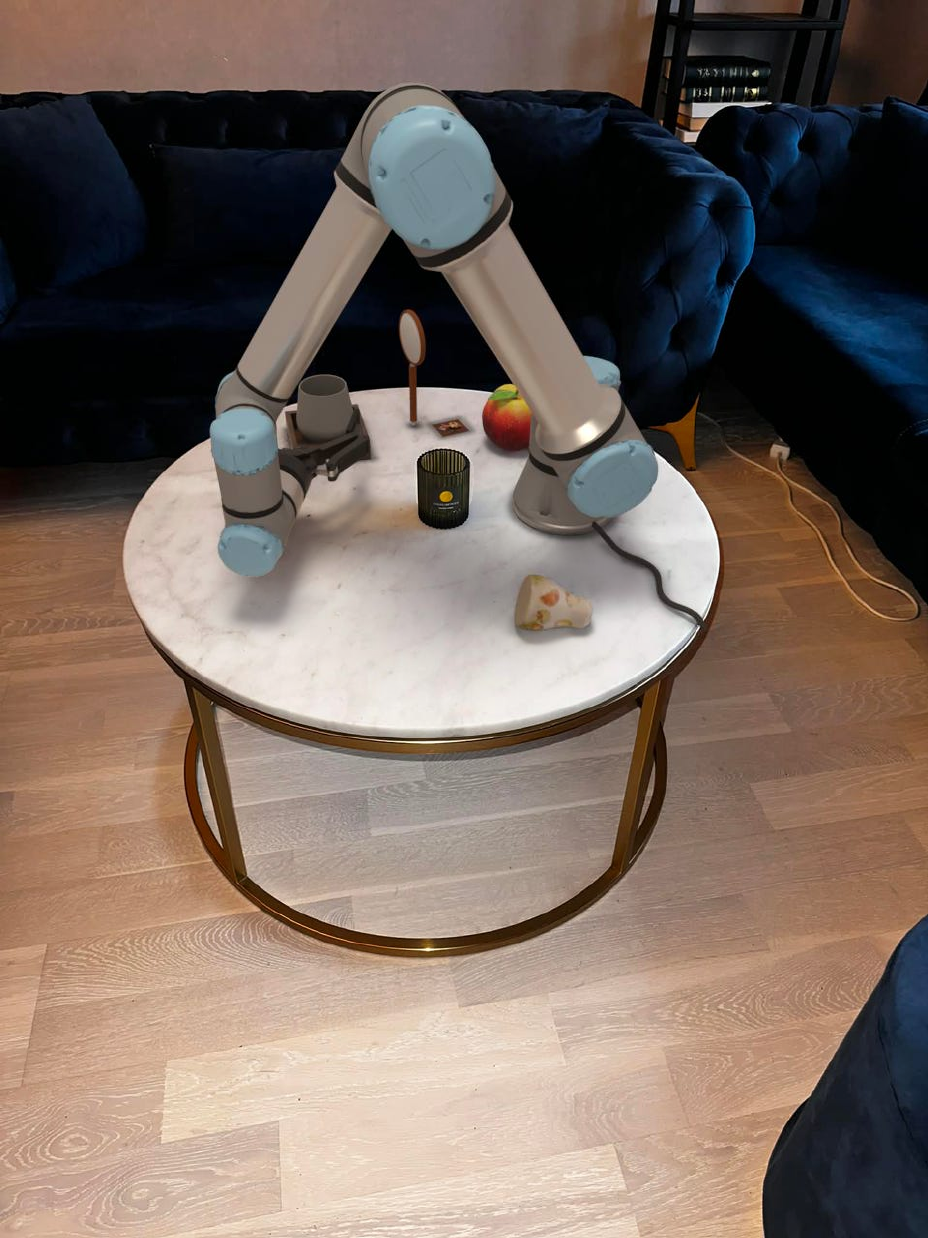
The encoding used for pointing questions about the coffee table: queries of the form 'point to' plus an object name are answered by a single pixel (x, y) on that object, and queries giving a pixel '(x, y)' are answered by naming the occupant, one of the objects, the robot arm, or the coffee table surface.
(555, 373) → the robot arm
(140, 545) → the coffee table surface
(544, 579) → the beige spotted lump
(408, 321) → the magnifying glass
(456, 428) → the picture card
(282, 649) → the coffee table surface
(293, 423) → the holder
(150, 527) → the coffee table surface
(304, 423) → the cup
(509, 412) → the fruit
